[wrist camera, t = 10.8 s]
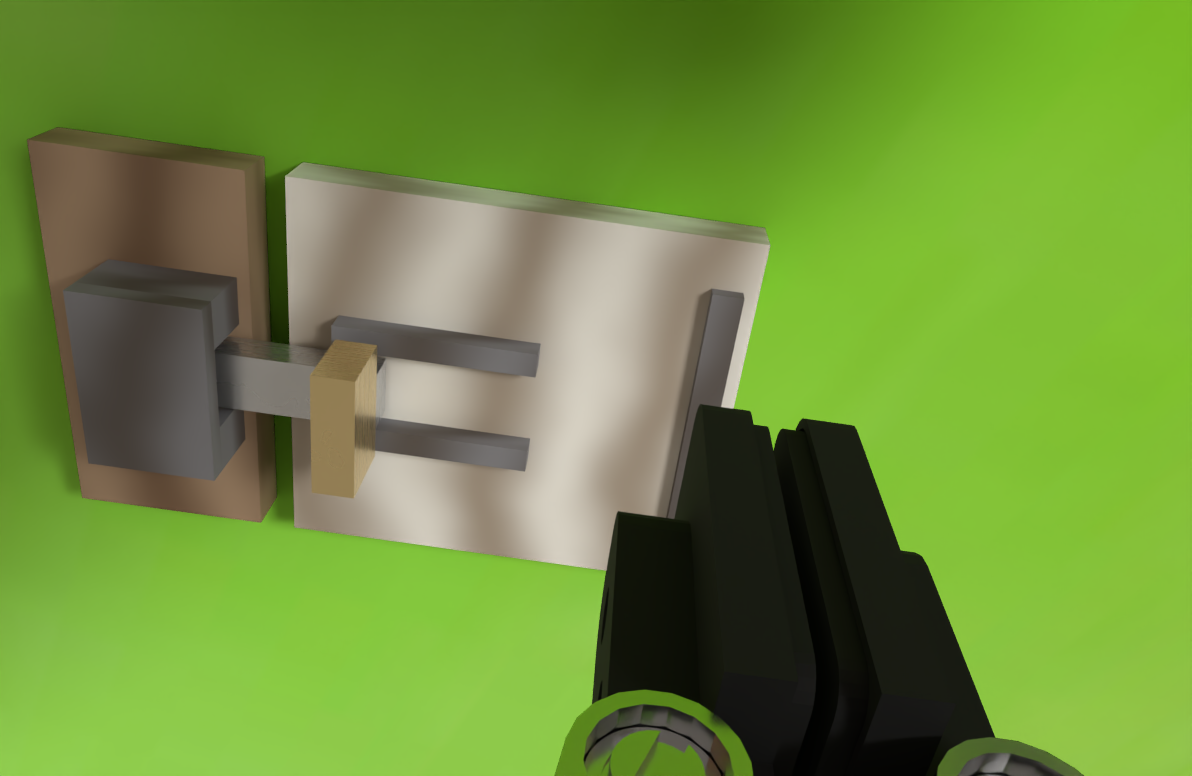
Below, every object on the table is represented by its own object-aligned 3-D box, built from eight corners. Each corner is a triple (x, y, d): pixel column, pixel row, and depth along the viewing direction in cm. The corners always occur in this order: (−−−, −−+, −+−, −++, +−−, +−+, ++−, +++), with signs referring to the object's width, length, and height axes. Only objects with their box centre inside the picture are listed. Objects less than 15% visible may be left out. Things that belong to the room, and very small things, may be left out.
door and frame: (764, 227, 37) (780, 277, 32) (692, 555, 44) (696, 632, 40) (57, 127, 37) (-29, 162, 32) (105, 473, 44) (41, 541, 40)
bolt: (386, 329, 37) (355, 381, 33) (384, 437, 40) (353, 498, 36) (133, 293, 37) (71, 341, 33) (145, 403, 40) (88, 461, 36)
